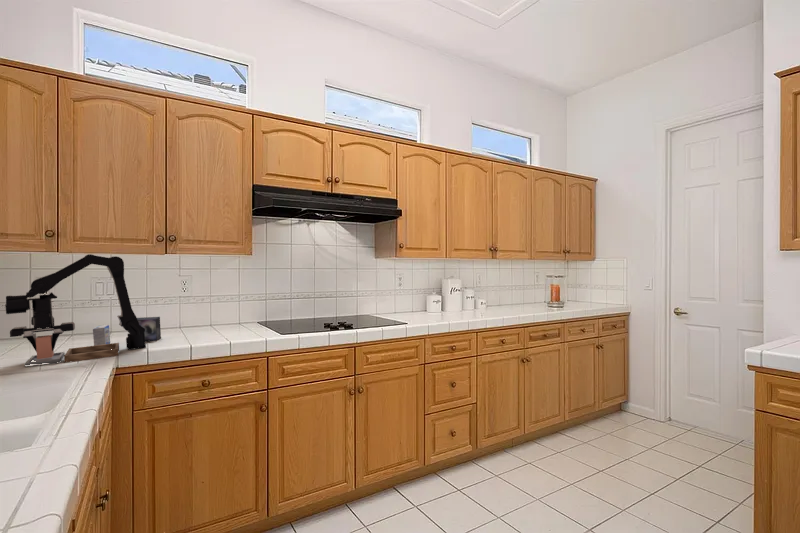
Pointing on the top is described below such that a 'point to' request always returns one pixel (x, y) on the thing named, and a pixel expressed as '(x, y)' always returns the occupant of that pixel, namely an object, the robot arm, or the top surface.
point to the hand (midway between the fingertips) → (45, 351)
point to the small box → (151, 328)
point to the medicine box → (101, 335)
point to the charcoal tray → (46, 359)
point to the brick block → (44, 347)
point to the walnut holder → (91, 352)
